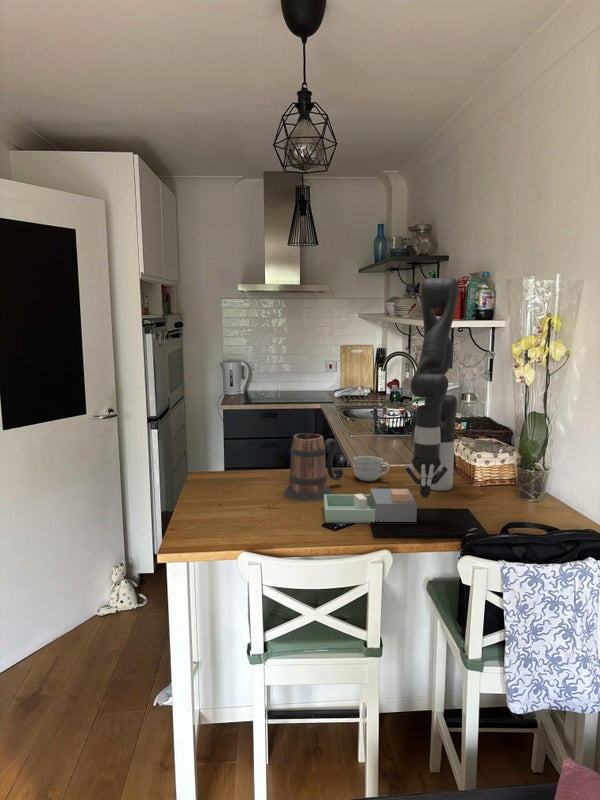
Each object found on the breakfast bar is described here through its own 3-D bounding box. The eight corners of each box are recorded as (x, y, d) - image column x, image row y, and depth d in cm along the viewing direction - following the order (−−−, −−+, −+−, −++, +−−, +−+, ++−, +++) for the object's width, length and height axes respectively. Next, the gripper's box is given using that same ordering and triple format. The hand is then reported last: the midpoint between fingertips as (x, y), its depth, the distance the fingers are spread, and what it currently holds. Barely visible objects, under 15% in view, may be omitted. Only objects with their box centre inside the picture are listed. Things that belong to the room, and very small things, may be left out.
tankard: (302, 504, 185) (303, 444, 182) (273, 491, 199) (273, 434, 195) (357, 491, 199) (358, 434, 196) (326, 479, 212) (327, 426, 209)
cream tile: (361, 493, 179) (354, 494, 178) (366, 498, 174) (359, 499, 173) (361, 508, 180) (353, 509, 179) (366, 514, 175) (358, 515, 174)
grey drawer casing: (369, 506, 183) (370, 488, 182) (407, 506, 184) (408, 488, 183) (375, 523, 170) (376, 503, 169) (416, 523, 170) (417, 503, 169)
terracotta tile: (390, 496, 175) (390, 489, 174) (406, 497, 175) (406, 489, 174) (392, 502, 170) (392, 494, 169) (409, 502, 170) (409, 494, 169)
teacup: (347, 478, 213) (347, 457, 212) (367, 473, 220) (367, 452, 219) (375, 487, 203) (376, 465, 202) (395, 481, 210) (396, 460, 209)
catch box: (323, 506, 183) (323, 494, 183) (369, 506, 183) (369, 494, 183) (325, 522, 170) (325, 509, 169) (375, 523, 170) (375, 510, 169)
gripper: (446, 437, 173) (443, 493, 176) (402, 437, 173) (400, 492, 176) (452, 443, 166) (450, 501, 168) (407, 443, 165) (404, 501, 168)
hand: (424, 496), depth 172 cm, fingers closed
